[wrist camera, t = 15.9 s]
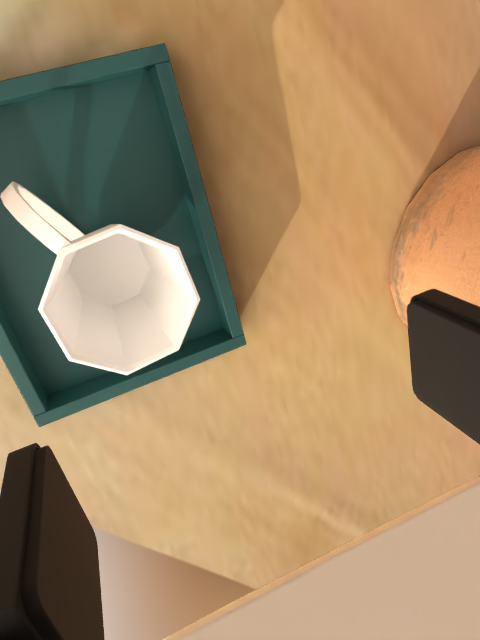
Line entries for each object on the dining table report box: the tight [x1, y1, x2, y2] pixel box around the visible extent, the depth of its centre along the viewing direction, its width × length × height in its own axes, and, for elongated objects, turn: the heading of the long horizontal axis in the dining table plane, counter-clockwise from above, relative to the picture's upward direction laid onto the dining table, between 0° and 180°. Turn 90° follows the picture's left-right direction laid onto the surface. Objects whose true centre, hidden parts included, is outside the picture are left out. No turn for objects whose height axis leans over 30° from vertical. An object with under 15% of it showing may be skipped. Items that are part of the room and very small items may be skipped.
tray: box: [0, 43, 246, 427], centre depth 26 cm, size 18×14×3 cm
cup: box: [0, 181, 200, 375], centre depth 23 cm, size 7×10×8 cm
